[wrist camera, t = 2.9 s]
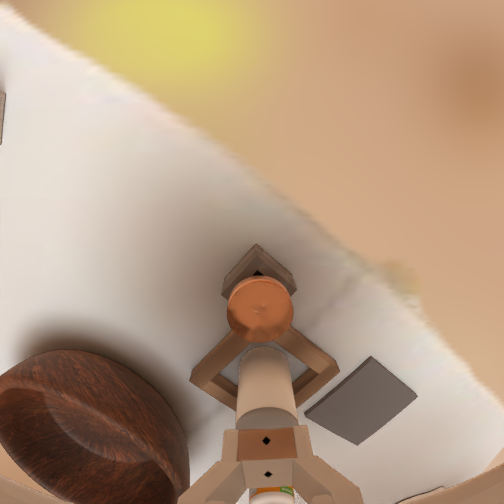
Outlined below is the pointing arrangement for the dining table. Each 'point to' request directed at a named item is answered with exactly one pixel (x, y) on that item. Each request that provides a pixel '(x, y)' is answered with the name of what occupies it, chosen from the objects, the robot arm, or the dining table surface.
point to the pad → (362, 402)
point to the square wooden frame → (291, 340)
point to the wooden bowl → (92, 431)
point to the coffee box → (1, 111)
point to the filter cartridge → (265, 391)
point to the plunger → (259, 309)
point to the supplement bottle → (271, 495)
